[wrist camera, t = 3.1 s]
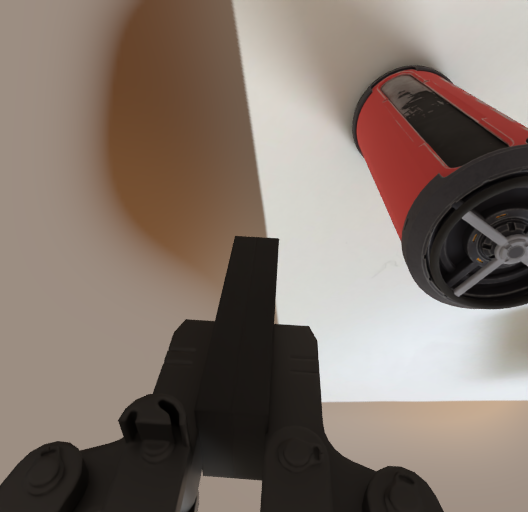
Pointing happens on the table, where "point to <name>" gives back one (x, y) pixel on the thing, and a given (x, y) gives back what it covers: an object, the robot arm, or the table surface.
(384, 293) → the table surface
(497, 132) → the speaker
